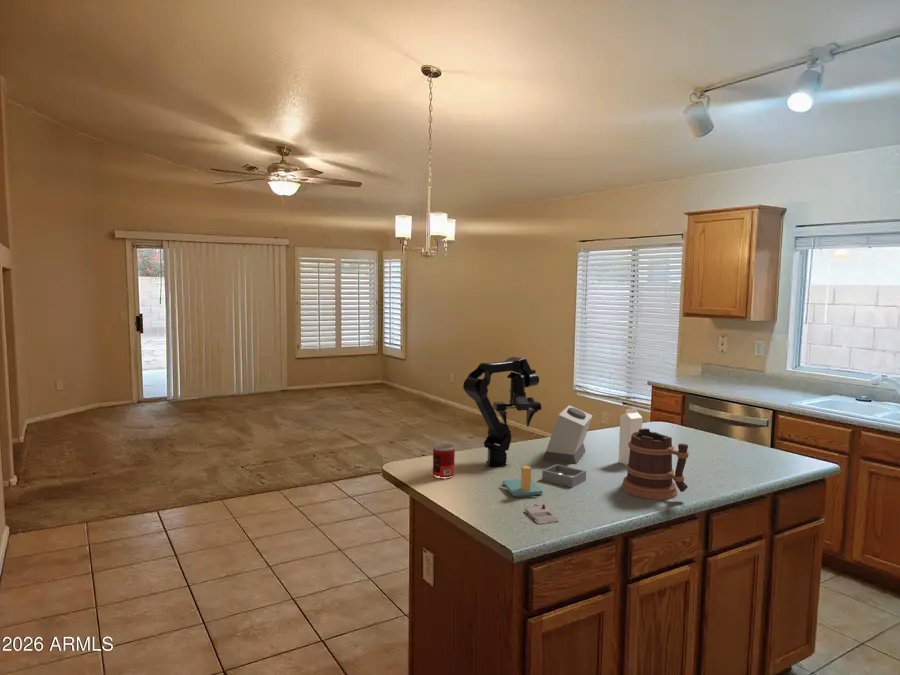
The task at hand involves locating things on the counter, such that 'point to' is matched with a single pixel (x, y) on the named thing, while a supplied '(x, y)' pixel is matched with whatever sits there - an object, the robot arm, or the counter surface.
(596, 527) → the counter surface
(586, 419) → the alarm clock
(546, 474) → the tub
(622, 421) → the milk
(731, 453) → the counter surface
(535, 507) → the electrical control box
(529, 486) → the lid
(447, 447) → the canned food
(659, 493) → the mug
